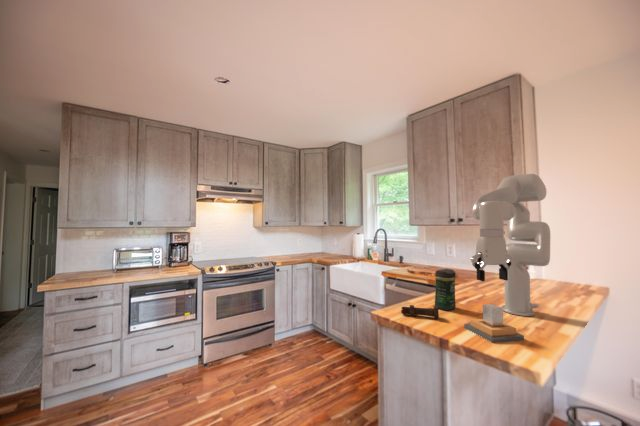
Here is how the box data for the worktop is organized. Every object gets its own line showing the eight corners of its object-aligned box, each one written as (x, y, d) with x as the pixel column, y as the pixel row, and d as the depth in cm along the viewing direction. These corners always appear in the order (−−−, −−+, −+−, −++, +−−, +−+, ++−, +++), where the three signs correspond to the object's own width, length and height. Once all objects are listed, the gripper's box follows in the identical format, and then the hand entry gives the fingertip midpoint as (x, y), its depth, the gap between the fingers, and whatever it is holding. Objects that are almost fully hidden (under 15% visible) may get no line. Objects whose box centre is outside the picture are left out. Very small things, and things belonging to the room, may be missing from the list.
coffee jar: (448, 312, 122) (448, 271, 123) (432, 307, 128) (432, 268, 129) (458, 308, 128) (458, 269, 129) (442, 304, 134) (442, 267, 135)
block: (493, 330, 101) (492, 304, 101) (503, 335, 97) (502, 307, 97) (483, 331, 100) (482, 304, 100) (492, 336, 96) (492, 308, 96)
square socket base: (493, 325, 106) (493, 316, 106) (524, 340, 93) (523, 329, 93) (464, 327, 103) (464, 318, 104) (491, 342, 91) (491, 332, 91)
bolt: (401, 318, 119) (438, 321, 114) (401, 315, 115) (439, 318, 110) (401, 304, 122) (437, 307, 117) (401, 301, 118) (437, 304, 113)
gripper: (502, 233, 105) (503, 277, 104) (463, 233, 102) (464, 278, 101) (520, 234, 98) (521, 281, 97) (478, 234, 95) (479, 283, 94)
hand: (492, 280), depth 99 cm, fingers open, 9 cm apart
